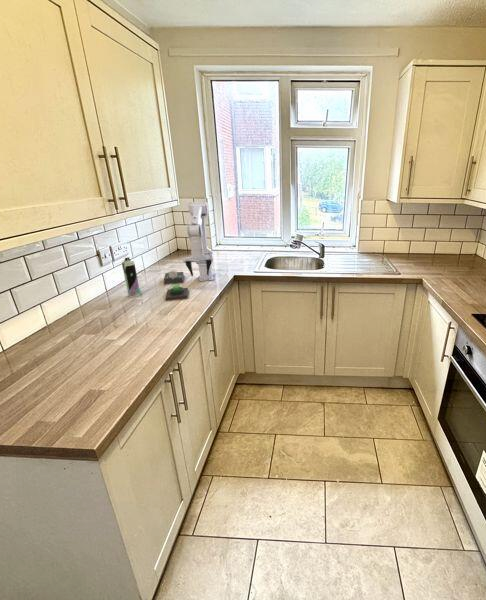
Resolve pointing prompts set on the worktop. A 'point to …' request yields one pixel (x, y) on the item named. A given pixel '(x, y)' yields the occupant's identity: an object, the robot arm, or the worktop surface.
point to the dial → (173, 273)
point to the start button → (176, 288)
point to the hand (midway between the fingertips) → (200, 275)
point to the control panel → (174, 280)
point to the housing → (177, 294)
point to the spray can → (131, 278)
